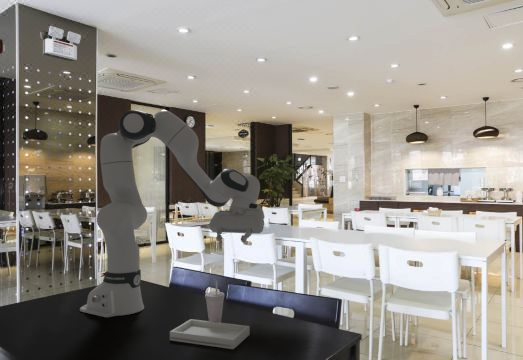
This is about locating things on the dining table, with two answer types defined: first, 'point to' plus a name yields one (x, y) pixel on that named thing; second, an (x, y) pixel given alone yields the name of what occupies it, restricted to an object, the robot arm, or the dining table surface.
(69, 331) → the dining table surface
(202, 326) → the tray
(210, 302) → the smoothie
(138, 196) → the robot arm
